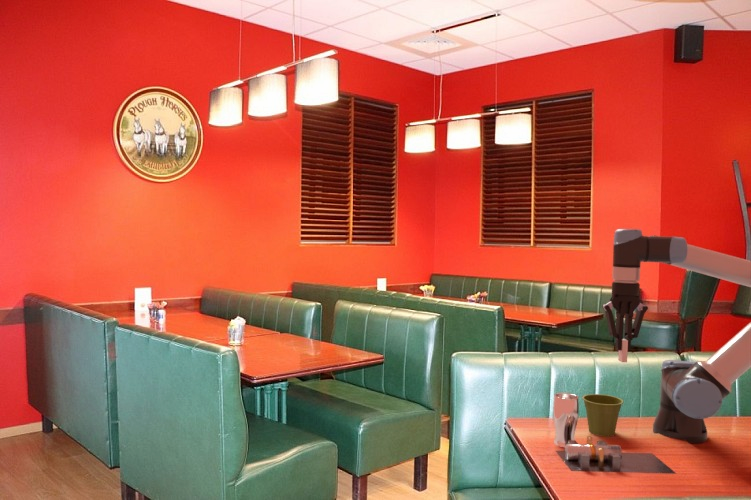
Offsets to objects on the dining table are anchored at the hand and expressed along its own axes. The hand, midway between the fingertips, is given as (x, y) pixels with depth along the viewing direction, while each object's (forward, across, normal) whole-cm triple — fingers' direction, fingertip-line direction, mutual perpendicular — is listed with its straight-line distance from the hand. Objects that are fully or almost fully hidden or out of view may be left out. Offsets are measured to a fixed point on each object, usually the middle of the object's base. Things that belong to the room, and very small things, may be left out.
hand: (622, 361), depth 182 cm
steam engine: (+24, +9, +18) cm, 31 cm away
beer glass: (+25, +18, +5) cm, 31 cm away
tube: (+23, +14, +18) cm, 32 cm away
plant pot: (+25, +3, -6) cm, 26 cm away
